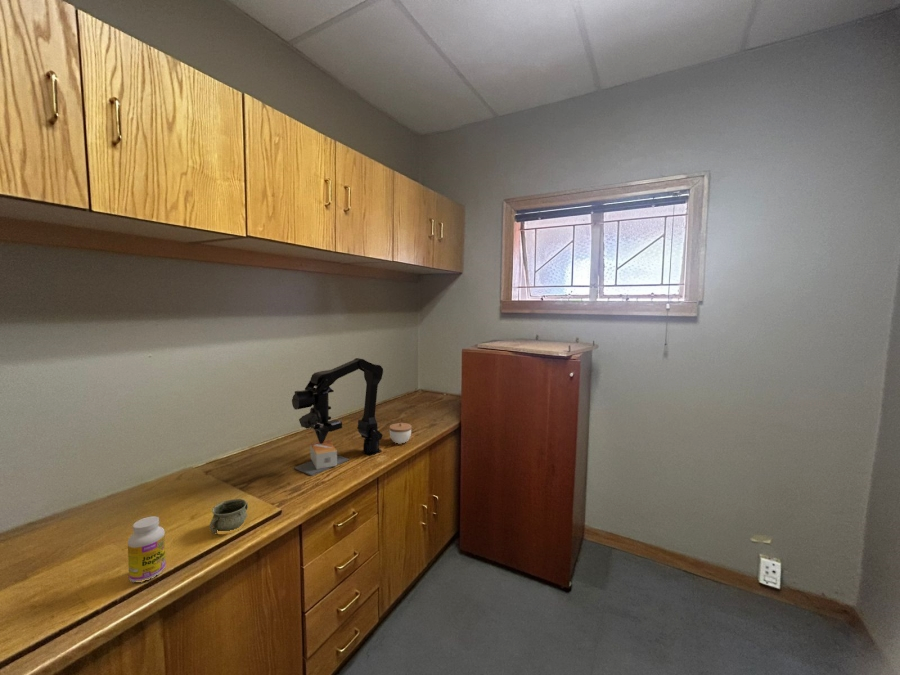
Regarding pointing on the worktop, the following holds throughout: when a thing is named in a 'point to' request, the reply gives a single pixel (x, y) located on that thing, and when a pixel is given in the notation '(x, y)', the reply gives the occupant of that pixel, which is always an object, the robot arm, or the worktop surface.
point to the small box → (323, 455)
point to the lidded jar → (400, 432)
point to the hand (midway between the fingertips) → (321, 443)
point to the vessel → (228, 515)
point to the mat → (311, 469)
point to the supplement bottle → (146, 549)
